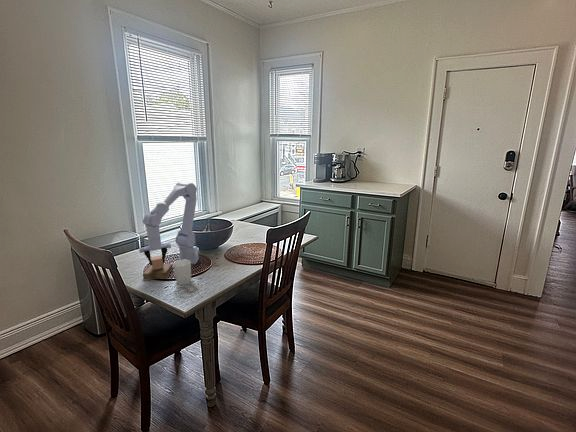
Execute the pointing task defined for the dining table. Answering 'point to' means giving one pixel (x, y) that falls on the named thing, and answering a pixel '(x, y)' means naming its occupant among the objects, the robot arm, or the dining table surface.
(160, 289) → the dining table surface
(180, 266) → the white cup
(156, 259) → the cube
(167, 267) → the base
